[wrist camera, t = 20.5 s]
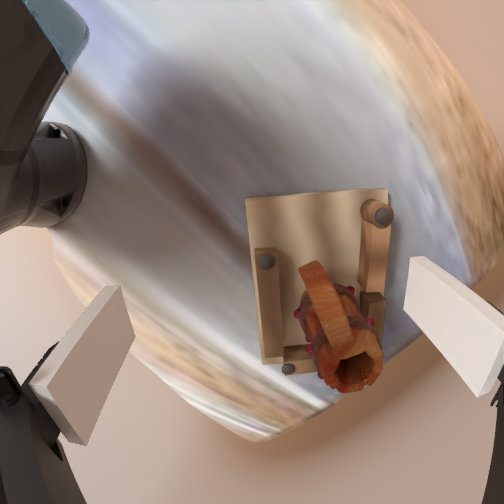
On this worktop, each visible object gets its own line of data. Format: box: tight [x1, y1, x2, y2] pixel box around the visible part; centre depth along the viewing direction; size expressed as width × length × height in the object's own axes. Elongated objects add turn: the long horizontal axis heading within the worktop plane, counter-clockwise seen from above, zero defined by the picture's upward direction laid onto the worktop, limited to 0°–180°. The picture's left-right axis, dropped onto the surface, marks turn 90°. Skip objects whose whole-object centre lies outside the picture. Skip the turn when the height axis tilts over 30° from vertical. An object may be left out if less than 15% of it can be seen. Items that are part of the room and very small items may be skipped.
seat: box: [245, 189, 388, 375], centre depth 37 cm, size 18×24×5 cm
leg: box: [357, 199, 394, 293], centre depth 34 cm, size 11×3×4 cm, turn 2°
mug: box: [293, 260, 384, 393], centre depth 31 cm, size 15×8×15 cm, turn 26°
